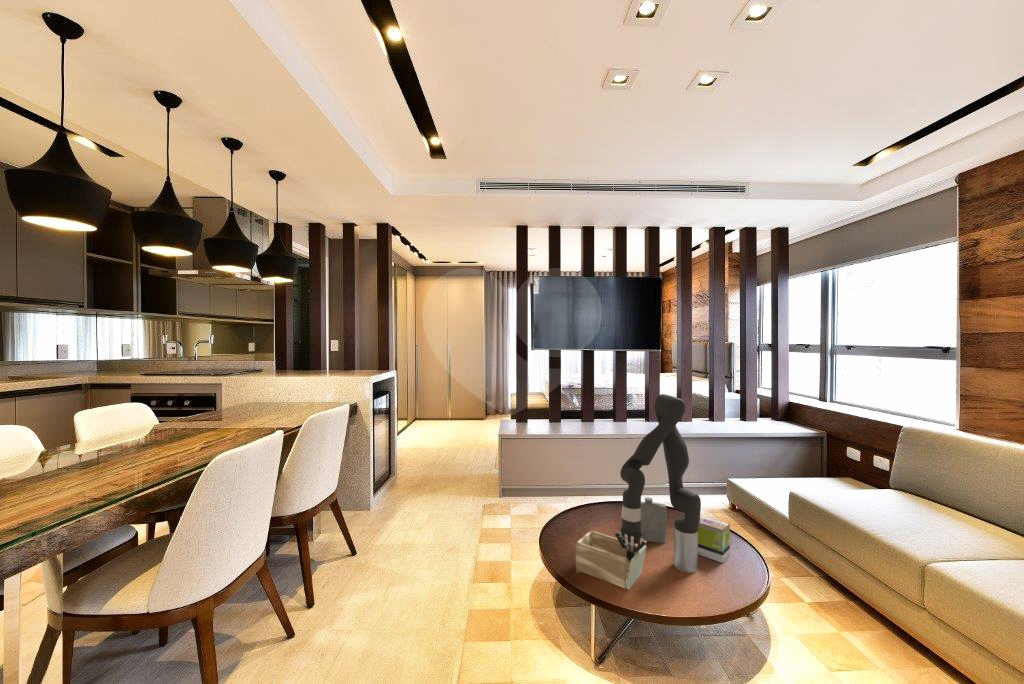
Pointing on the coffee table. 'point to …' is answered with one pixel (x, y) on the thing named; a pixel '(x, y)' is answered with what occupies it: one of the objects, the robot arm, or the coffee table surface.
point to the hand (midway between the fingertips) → (630, 559)
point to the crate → (602, 558)
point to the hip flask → (653, 521)
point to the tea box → (713, 539)
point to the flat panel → (636, 567)
